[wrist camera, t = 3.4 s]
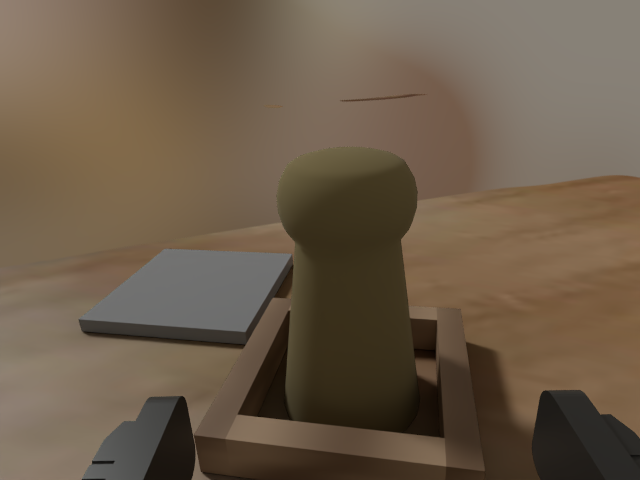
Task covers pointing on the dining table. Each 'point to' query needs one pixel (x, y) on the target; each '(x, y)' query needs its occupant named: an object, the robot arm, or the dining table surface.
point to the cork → (349, 289)
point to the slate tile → (193, 296)
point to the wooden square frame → (336, 441)
